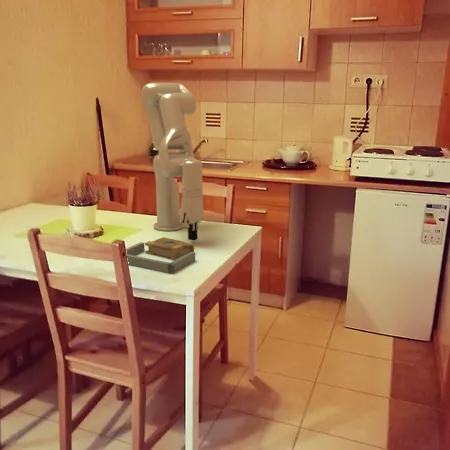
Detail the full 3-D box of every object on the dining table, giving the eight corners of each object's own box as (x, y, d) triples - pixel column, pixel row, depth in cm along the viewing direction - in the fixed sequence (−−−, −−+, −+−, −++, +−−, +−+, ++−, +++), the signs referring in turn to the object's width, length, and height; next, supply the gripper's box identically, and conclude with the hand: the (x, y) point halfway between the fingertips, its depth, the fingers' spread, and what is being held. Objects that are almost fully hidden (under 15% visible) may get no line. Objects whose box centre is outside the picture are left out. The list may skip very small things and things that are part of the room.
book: (144, 254, 175) (144, 240, 173) (165, 246, 183) (164, 233, 182) (176, 262, 167) (176, 248, 165) (196, 253, 176) (195, 240, 174)
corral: (141, 250, 178) (140, 242, 177) (195, 260, 168) (195, 252, 167) (115, 261, 165) (114, 253, 164) (171, 273, 155) (171, 264, 154)
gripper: (194, 188, 190) (194, 233, 195) (173, 195, 178) (173, 243, 182) (210, 190, 187) (210, 236, 192) (190, 197, 174) (191, 246, 179)
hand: (192, 239), depth 187 cm, fingers closed
